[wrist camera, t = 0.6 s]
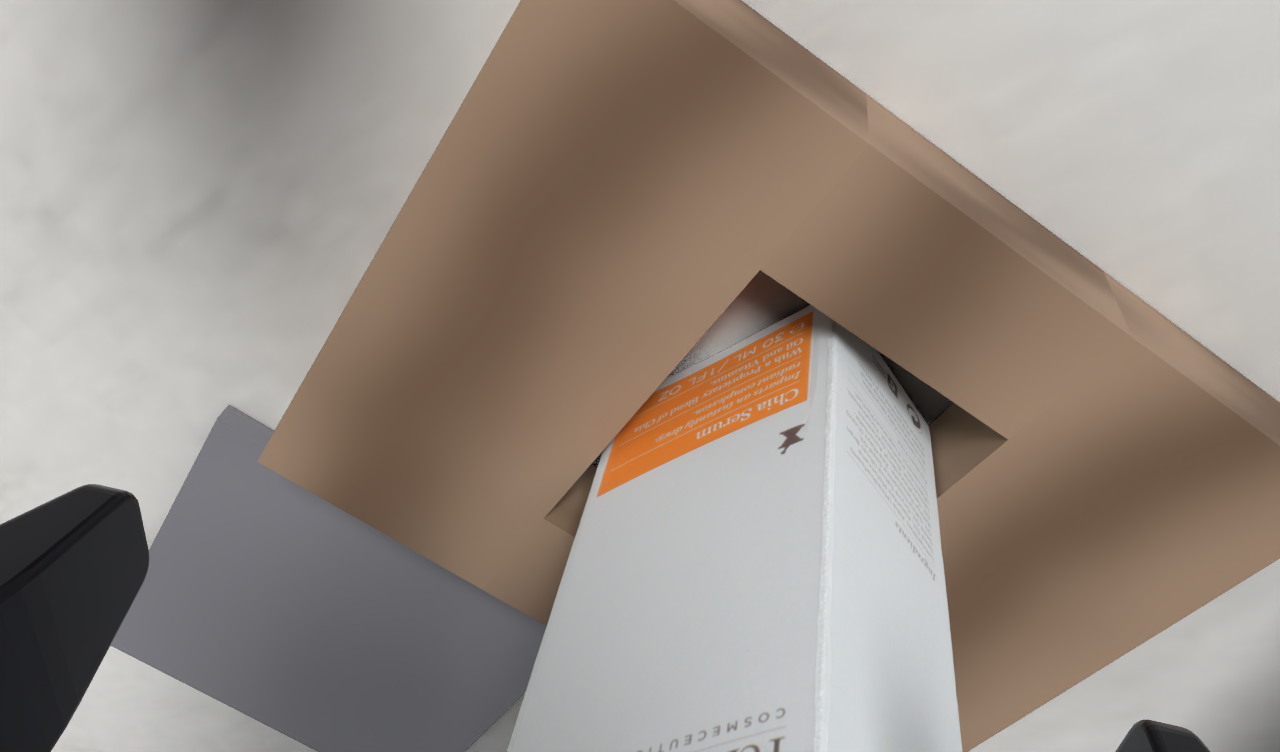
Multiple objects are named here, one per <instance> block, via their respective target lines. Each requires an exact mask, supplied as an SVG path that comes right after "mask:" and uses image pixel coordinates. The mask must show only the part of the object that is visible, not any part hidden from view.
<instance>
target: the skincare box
mask: <svg viewBox="0 0 1280 752" xmlns="http://www.w3.org/2000/svg"><path fill="white" fill-rule="evenodd" d="M506 752H963V751H962V742H961V733H960V723H959V712H958V703H957V696H956V684H955V673H954V664H953V651H952V642H951V632H950V621H949V611H948V602H947V593H946V583H945V574H944V565H943V557H942V549H941V537H940V526H939V515H938V505H937V496H936V486H935V475H934V465H933V456H932V447H931V436H930V430H929V426H928V424H927V423H926V421H925V420H924V419H923V417H922V416H921V414H920V413H919V411H918V410H917V408H916V407H915V405H914V404H913V402H912V401H911V400H910V398H909V397H908V395H907V394H906V392H905V391H904V389H903V388H902V386H901V385H900V383H899V382H898V380H897V379H896V377H895V376H894V374H893V373H892V372H891V370H890V369H889V367H888V366H887V364H886V363H885V362H884V360H883V359H882V357H881V356H880V354H879V353H878V351H877V350H876V349H875V348H873V347H872V346H870V345H869V344H867V343H866V342H865V341H863V340H862V339H860V338H859V337H857V336H856V335H854V334H853V333H851V332H850V331H848V330H847V329H846V328H844V327H843V326H841V325H840V324H838V323H837V322H835V321H834V320H832V319H831V318H829V317H828V316H827V315H825V314H824V313H822V312H821V311H819V310H818V309H816V308H815V307H813V306H812V305H809V306H807V307H806V308H804V309H802V310H801V311H799V312H797V313H795V314H793V315H791V316H789V317H787V318H785V319H782V320H780V321H778V322H776V323H774V324H772V325H770V326H768V327H767V328H765V329H763V330H761V331H759V332H757V333H755V334H753V335H752V336H750V337H748V338H746V339H744V340H742V341H740V342H738V343H736V344H735V345H733V346H731V347H729V348H727V349H725V350H723V351H721V352H719V353H717V354H715V355H713V356H711V357H709V358H707V359H705V360H703V361H701V362H699V363H697V364H694V365H692V366H690V367H688V368H686V369H684V370H682V371H680V372H678V373H676V374H674V375H672V376H669V377H667V378H666V379H665V380H664V381H663V382H662V383H661V384H660V386H659V387H658V388H657V389H656V390H655V391H654V392H653V394H652V395H651V396H650V397H649V398H648V399H647V401H646V402H645V403H644V404H643V405H642V406H641V407H640V409H639V410H638V411H637V412H636V413H635V414H634V415H633V417H632V418H631V419H630V420H629V421H628V422H627V424H626V425H625V426H624V427H623V428H622V429H621V430H620V432H619V433H618V434H617V435H616V436H615V437H614V438H613V440H612V441H611V442H610V443H609V444H608V445H607V447H606V448H605V449H604V450H603V452H602V455H601V458H600V461H599V464H598V467H597V470H596V474H595V477H594V479H593V483H592V486H591V489H590V492H589V495H588V499H587V502H586V505H585V508H584V511H583V514H582V517H581V520H580V524H579V527H578V530H577V533H576V536H575V539H574V542H573V545H572V548H571V551H570V554H569V557H568V561H567V564H566V567H565V570H564V573H563V576H562V579H561V582H560V585H559V588H558V592H557V595H556V598H555V601H554V605H553V608H552V611H551V614H550V617H549V621H548V624H547V627H546V630H545V633H544V636H543V639H542V642H541V646H540V649H539V652H538V655H537V657H536V660H535V663H534V667H533V670H532V673H531V676H530V680H529V683H528V686H527V689H526V692H525V695H524V698H523V701H522V704H521V707H520V711H519V714H518V717H517V720H516V723H515V726H514V730H513V733H512V736H511V739H510V742H509V745H508V748H507V751H506Z"/></svg>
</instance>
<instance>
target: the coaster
mask: <svg viewBox="0 0 1280 752" xmlns="http://www.w3.org/2000/svg"><path fill="white" fill-rule="evenodd" d="M273 433H274V431H273V430H271V429H270V428H268V427H266V426H265V425H263V424H261V423H259V422H258V421H256V420H254V419H252V418H251V417H249V416H247V415H245V414H244V413H242V412H240V411H239V410H237V409H235V408H233V407H232V406H230V405H228V406H227V408H226V409H225V410H224V411H223V413H222V414H221V415H220V416H219V417H218V419H217V420H216V422H215V424H214V426H213V428H212V430H211V432H210V434H209V436H208V438H207V440H206V441H205V443H204V445H203V447H202V449H201V451H200V453H199V455H198V457H197V459H196V461H195V463H194V465H193V467H192V468H191V470H190V472H189V474H188V476H187V478H186V480H185V482H184V484H183V486H182V488H181V490H180V492H179V494H178V496H177V497H176V499H175V501H174V503H173V505H172V507H171V509H170V511H169V513H168V515H167V517H166V519H165V521H164V523H163V525H162V526H161V528H160V530H159V532H158V534H157V536H156V538H155V540H154V542H153V544H152V546H151V548H150V550H149V567H148V571H147V574H146V577H145V580H144V582H143V584H142V586H141V588H140V590H139V592H138V594H137V596H136V597H135V599H134V601H133V603H132V605H131V607H130V609H129V611H128V613H127V615H126V616H125V618H124V620H123V622H122V624H121V626H120V628H119V630H118V632H117V633H116V635H115V637H114V639H113V641H112V643H111V646H113V647H115V648H117V649H119V650H120V651H122V652H124V653H126V654H128V655H130V656H132V657H134V658H136V659H138V660H140V661H142V662H144V663H146V664H148V665H150V666H152V667H154V668H156V669H158V670H160V671H162V672H164V673H165V674H167V675H169V676H171V677H173V678H175V679H177V680H179V681H181V682H183V683H185V684H187V685H189V686H191V687H193V688H195V689H197V690H199V691H201V692H203V693H205V694H207V695H209V696H210V697H212V698H214V699H216V700H218V701H220V702H222V703H224V704H226V705H228V706H230V707H232V708H234V709H236V710H238V711H240V712H242V713H244V714H246V715H248V716H250V717H252V718H254V719H255V720H257V721H259V722H261V723H263V724H265V725H267V726H269V727H271V728H273V729H275V730H277V731H279V732H281V733H283V734H285V735H287V736H289V737H291V738H293V739H295V740H297V741H299V742H300V743H302V744H304V745H306V746H308V747H310V748H312V749H314V750H316V751H318V752H465V751H466V750H467V749H468V748H469V747H470V746H471V745H472V744H473V743H474V742H475V741H476V740H477V739H478V738H479V737H480V736H481V735H482V734H483V733H484V732H485V731H486V730H487V729H488V728H489V727H490V726H491V725H492V724H493V723H494V722H495V721H496V720H497V719H498V718H499V717H500V716H501V715H502V714H503V713H504V712H505V711H506V710H507V709H508V708H509V707H510V706H511V705H512V704H513V703H514V702H516V701H517V700H518V699H519V698H520V697H521V696H522V695H523V694H524V693H525V692H526V689H527V686H528V683H529V680H530V676H531V673H532V670H533V667H534V663H535V660H536V657H537V655H538V652H539V649H540V646H541V642H542V639H543V636H544V633H545V630H546V627H547V626H546V625H544V624H542V623H540V622H539V621H537V620H535V619H533V618H531V617H530V616H528V615H526V614H524V613H523V612H521V611H519V610H517V609H516V608H514V607H512V606H510V605H509V604H507V603H505V602H503V601H502V600H500V599H498V598H496V597H494V596H493V595H491V594H489V593H487V592H486V591H484V590H482V589H480V588H479V587H477V586H475V585H473V584H472V583H470V582H468V581H466V580H465V579H463V578H461V577H459V576H457V575H456V574H454V573H452V572H450V571H449V570H447V569H445V568H443V567H442V566H440V565H438V564H436V563H435V562H433V561H431V560H429V559H428V558H426V557H424V556H422V555H420V554H419V553H417V552H415V551H413V550H412V549H410V548H408V547H406V546H405V545H403V544H401V543H399V542H398V541H396V540H394V539H392V538H391V537H389V536H387V535H385V534H383V533H382V532H380V531H378V530H376V529H375V528H373V527H371V526H369V525H368V524H366V523H364V522H362V521H361V520H359V519H357V518H355V517H354V516H352V515H350V514H348V513H346V512H345V511H343V510H341V509H339V508H338V507H336V506H334V505H332V504H331V503H329V502H327V501H325V500H324V499H322V498H320V497H318V496H317V495H315V494H313V493H311V492H309V491H308V490H306V489H304V488H302V487H301V486H299V485H297V484H295V483H294V482H292V481H290V480H288V479H287V478H285V477H283V476H281V475H280V474H278V473H276V472H274V471H272V470H271V469H269V468H267V467H265V466H264V465H262V464H260V463H258V462H257V461H258V459H259V457H260V456H261V454H262V452H263V450H264V449H265V447H266V445H267V443H268V442H269V440H270V438H271V436H272V435H273Z"/></svg>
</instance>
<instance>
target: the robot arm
mask: <svg viewBox="0 0 1280 752" xmlns="http://www.w3.org/2000/svg"><path fill="white" fill-rule="evenodd" d="M148 567H149V551H148V546H147V541H146V536H145V531H144V527H143V522H142V517H141V512H140V507H139V503H138V500H137V499H136V498H135V497H134V495H133V494H132V493H130V492H128V491H124V490H120V489H115V488H111V487H106V486H102V485H96V484H88V485H84V486H81V487H79V488H76V489H74V490H72V491H70V492H68V493H66V494H64V495H61V496H59V497H57V498H55V499H53V500H51V501H49V502H47V503H45V504H42V505H40V506H38V507H36V508H34V509H32V510H30V511H28V512H26V513H23V514H21V515H19V516H17V517H15V518H13V519H11V520H9V521H7V522H5V523H2V524H0V752H51V750H52V749H53V747H54V746H55V744H56V742H57V741H58V739H59V738H60V736H61V735H62V733H63V731H64V730H65V728H66V727H67V725H68V723H69V721H70V720H71V718H72V716H73V714H74V712H75V711H76V709H77V707H78V705H79V704H80V702H81V700H82V698H83V696H84V694H85V692H86V690H87V688H88V687H89V685H90V683H91V681H92V679H93V677H94V675H95V673H96V671H97V669H98V668H99V666H100V664H101V662H102V660H103V658H104V656H105V654H106V652H107V651H108V649H109V647H110V645H111V643H112V641H113V639H114V637H115V635H116V633H117V632H118V630H119V628H120V626H121V624H122V622H123V620H124V618H125V616H126V615H127V613H128V611H129V609H130V607H131V605H132V603H133V601H134V599H135V597H136V596H137V594H138V592H139V590H140V588H141V586H142V584H143V582H144V580H145V577H146V574H147V571H148ZM1116 752H1210V751H1209V750H1208V748H1207V747H1206V746H1205V745H1204V743H1203V742H1202V741H1201V740H1200V739H1199V738H1198V737H1197V736H1196V735H1195V734H1194V733H1193V732H1191V731H1190V730H1188V729H1185V728H1182V727H1178V726H1174V725H1169V724H1165V723H1161V722H1156V721H1152V720H1141V721H1139V722H1137V723H1135V724H1134V725H1133V727H1132V728H1131V729H1130V731H1129V732H1128V734H1127V735H1126V737H1125V738H1124V740H1123V741H1122V743H1121V744H1120V746H1119V747H1118V749H1117V750H1116Z"/></svg>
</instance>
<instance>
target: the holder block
mask: <svg viewBox="0 0 1280 752" xmlns="http://www.w3.org/2000/svg"><path fill="white" fill-rule="evenodd" d="M760 270H761V271H762V272H764V273H765V274H767V275H768V276H770V277H771V278H772V279H774V280H775V281H777V282H778V283H780V284H781V285H783V286H784V287H786V288H787V289H789V290H790V291H791V292H793V293H794V294H796V295H797V296H799V297H800V298H802V299H803V300H805V301H806V302H808V303H809V304H810V305H812V306H813V307H815V308H816V309H818V310H819V311H821V312H822V313H824V314H825V315H827V316H828V317H829V318H831V319H832V320H834V321H835V322H837V323H838V324H840V325H841V326H843V327H844V328H846V329H847V330H848V331H850V332H851V333H853V334H854V335H856V336H857V337H859V338H860V339H862V340H863V341H865V342H866V343H867V344H869V345H870V346H872V347H873V348H875V349H876V350H878V351H879V352H881V353H882V354H884V355H885V356H886V357H888V358H889V359H891V360H892V361H894V362H895V363H897V364H898V365H900V366H901V367H903V368H904V369H905V370H907V371H908V372H910V373H911V374H913V375H914V376H916V377H917V378H919V379H920V380H922V381H923V382H924V383H926V384H927V385H929V386H930V387H932V388H933V389H935V390H936V391H938V392H939V393H940V394H942V395H943V396H945V397H946V398H948V399H949V400H951V401H952V402H954V403H953V404H952V405H951V406H950V407H949V408H948V409H946V410H945V411H944V412H943V413H942V414H941V415H940V416H939V417H937V418H936V419H935V420H934V421H933V422H932V423H931V424H929V425H928V426H929V430H930V436H931V447H932V456H933V465H934V475H935V486H936V496H937V505H938V515H939V526H940V537H941V549H942V557H943V565H944V574H945V583H946V593H947V602H948V611H949V621H950V632H951V642H952V651H953V664H954V673H955V684H956V696H957V703H958V712H959V723H960V733H961V742H962V751H963V752H968V751H969V750H971V749H973V748H974V747H976V746H977V745H979V744H981V743H982V742H984V741H986V740H987V739H989V738H990V737H992V736H994V735H995V734H997V733H998V732H1000V731H1002V730H1003V729H1005V728H1007V727H1008V726H1010V725H1011V724H1013V723H1015V722H1016V721H1018V720H1019V719H1021V718H1023V717H1024V716H1026V715H1028V714H1029V713H1031V712H1032V711H1034V710H1036V709H1037V708H1039V707H1040V706H1042V705H1044V704H1045V703H1047V702H1049V701H1050V700H1052V699H1053V698H1055V697H1057V696H1058V695H1060V694H1061V693H1063V692H1065V691H1066V690H1068V689H1070V688H1071V687H1073V686H1074V685H1076V684H1078V683H1079V682H1081V681H1082V680H1084V679H1086V678H1087V677H1089V676H1091V675H1092V674H1094V673H1095V672H1097V671H1099V670H1100V669H1102V668H1104V667H1105V666H1107V665H1108V664H1110V663H1112V662H1113V661H1115V660H1116V659H1118V658H1120V657H1121V656H1123V655H1125V654H1126V653H1128V652H1129V651H1131V650H1133V649H1134V648H1136V647H1137V646H1139V645H1141V644H1142V643H1144V642H1146V641H1147V640H1149V639H1150V638H1152V637H1154V636H1155V635H1157V634H1158V633H1160V632H1162V631H1163V630H1165V629H1167V628H1168V627H1170V626H1171V625H1173V624H1175V623H1176V622H1178V621H1179V620H1181V619H1183V618H1184V617H1186V616H1188V615H1189V614H1191V613H1192V612H1194V611H1196V610H1197V609H1199V608H1200V607H1202V606H1204V605H1205V604H1207V603H1209V602H1210V601H1212V600H1213V599H1215V598H1217V597H1218V596H1220V595H1221V594H1223V593H1225V592H1226V591H1228V590H1230V589H1231V588H1233V587H1234V586H1236V585H1238V584H1239V583H1241V582H1242V581H1244V580H1246V579H1247V578H1249V577H1251V576H1252V575H1254V574H1255V573H1257V572H1259V571H1260V570H1262V569H1263V568H1265V567H1267V566H1268V565H1270V564H1272V563H1273V562H1275V561H1276V560H1278V559H1280V403H1279V402H1278V401H1277V400H1275V399H1274V398H1273V397H1271V396H1270V395H1269V394H1267V393H1266V392H1265V391H1263V390H1262V389H1261V388H1259V387H1258V386H1257V385H1255V384H1254V383H1253V382H1251V381H1250V380H1249V379H1247V378H1246V377H1245V376H1243V375H1242V374H1241V373H1239V372H1238V371H1237V370H1235V369H1234V368H1232V367H1231V366H1230V365H1228V364H1227V363H1226V362H1224V361H1223V360H1222V359H1220V358H1219V357H1218V356H1216V355H1215V354H1214V353H1212V352H1211V351H1210V350H1208V349H1207V348H1206V347H1204V346H1203V345H1202V344H1200V343H1199V342H1198V341H1196V340H1195V339H1194V338H1192V337H1191V336H1190V335H1188V334H1187V333H1186V332H1184V331H1183V330H1182V329H1180V328H1179V327H1178V326H1176V325H1175V324H1174V323H1172V322H1171V321H1170V320H1168V319H1167V318H1166V317H1164V316H1163V315H1162V314H1160V313H1159V312H1158V311H1156V310H1155V309H1154V308H1152V307H1151V306H1149V305H1148V304H1147V303H1145V302H1144V301H1143V300H1141V299H1140V298H1139V297H1137V296H1136V295H1135V294H1133V293H1132V292H1131V291H1129V290H1128V289H1127V288H1125V287H1124V286H1123V285H1121V284H1120V283H1119V282H1117V281H1116V280H1115V279H1113V278H1112V277H1111V276H1109V275H1108V274H1107V273H1105V272H1104V271H1103V270H1101V269H1100V268H1099V267H1097V266H1096V265H1095V264H1093V263H1092V262H1091V261H1089V260H1088V259H1087V258H1085V257H1084V256H1083V255H1081V254H1080V253H1079V252H1077V251H1076V250H1075V249H1073V248H1072V247H1071V246H1069V245H1068V244H1066V243H1065V242H1064V241H1062V240H1061V239H1060V238H1058V237H1057V236H1056V235H1054V234H1053V233H1052V232H1050V231H1049V230H1048V229H1046V228H1045V227H1044V226H1042V225H1041V224H1040V223H1038V222H1037V221H1036V220H1034V219H1033V218H1032V217H1030V216H1029V215H1028V214H1026V213H1025V212H1024V211H1022V210H1021V209H1020V208H1018V207H1017V206H1016V205H1014V204H1013V203H1012V202H1010V201H1009V200H1008V199H1006V198H1005V197H1004V196H1002V195H1001V194H1000V193H998V192H997V191H996V190H994V189H993V188H992V187H990V186H989V185H988V184H986V183H985V182H983V181H982V180H981V179H979V178H978V177H977V176H975V175H974V174H973V173H971V172H970V171H969V170H967V169H966V168H965V167H963V166H962V165H961V164H959V163H958V162H957V161H955V160H954V159H953V158H951V157H950V156H949V155H947V154H946V153H945V152H943V151H942V150H941V149H939V148H938V147H937V146H935V145H934V144H933V143H931V142H930V141H929V140H927V139H926V138H925V137H923V136H922V135H921V134H919V133H918V132H917V131H915V130H914V129H913V128H911V127H910V126H909V125H907V124H906V123H905V122H903V121H902V120H900V119H899V118H898V117H896V116H895V115H894V114H892V113H891V112H890V111H888V110H887V109H886V108H884V107H883V106H882V105H880V104H879V103H878V102H876V101H875V100H874V99H872V98H871V97H870V96H868V95H867V94H866V93H864V92H863V91H862V90H860V89H859V88H858V87H856V86H855V85H854V84H852V83H851V82H850V81H848V80H847V79H846V78H844V77H843V76H842V75H840V74H839V73H838V72H836V71H835V70H834V69H832V68H831V67H830V66H828V65H827V64H826V63H824V62H823V61H822V60H820V59H819V58H817V57H816V56H815V55H813V54H812V53H811V52H809V51H808V50H807V49H805V48H804V47H803V46H801V45H800V44H799V43H797V42H796V41H795V40H793V39H792V38H791V37H789V36H788V35H787V34H785V33H784V32H783V31H781V30H780V29H779V28H777V27H776V26H775V25H773V24H772V23H771V22H769V21H768V20H767V19H765V18H764V17H763V16H761V15H760V14H759V13H757V12H756V11H755V10H753V9H752V8H751V7H749V6H748V5H747V4H745V3H744V2H743V1H741V0H521V1H520V3H519V5H518V7H517V8H516V10H515V12H514V14H513V15H512V17H511V19H510V21H509V22H508V24H507V26H506V28H505V29H504V31H503V33H502V35H501V36H500V38H499V40H498V42H497V43H496V45H495V47H494V49H493V50H492V52H491V54H490V56H489V57H488V59H487V61H486V62H485V64H484V66H483V68H482V69H481V71H480V73H479V75H478V76H477V78H476V80H475V82H474V83H473V85H472V87H471V89H470V90H469V92H468V94H467V96H466V97H465V99H464V101H463V103H462V104H461V106H460V108H459V110H458V111H457V113H456V115H455V117H454V118H453V120H452V122H451V124H450V125H449V127H448V129H447V131H446V132H445V134H444V136H443V138H442V139H441V141H440V143H439V145H438V146H437V148H436V150H435V152H434V153H433V155H432V157H431V159H430V160H429V162H428V164H427V166H426V167H425V169H424V171H423V173H422V174H421V176H420V178H419V180H418V181H417V183H416V185H415V187H414V188H413V190H412V192H411V193H410V195H409V197H408V199H407V200H406V202H405V204H404V206H403V207H402V209H401V211H400V213H399V214H398V216H397V218H396V220H395V221H394V223H393V225H392V227H391V228H390V230H389V232H388V234H387V235H386V237H385V239H384V241H383V242H382V244H381V246H380V248H379V249H378V251H377V253H376V255H375V256H374V258H373V260H372V262H371V263H370V265H369V267H368V269H367V270H366V272H365V274H364V276H363V277H362V279H361V281H360V283H359V284H358V286H357V288H356V290H355V291H354V293H353V295H352V297H351V298H350V300H349V302H348V304H347V305H346V307H345V309H344V311H343V312H342V314H341V316H340V318H339V319H338V321H337V323H336V325H335V326H334V328H333V330H332V331H331V333H330V335H329V337H328V338H327V340H326V342H325V344H324V345H323V347H322V349H321V351H320V352H319V354H318V356H317V358H316V359H315V361H314V363H313V365H312V366H311V368H310V370H309V372H308V373H307V375H306V377H305V379H304V380H303V382H302V384H301V386H300V387H299V389H298V391H297V393H296V394H295V396H294V398H293V400H292V401H291V403H290V405H289V407H288V408H287V410H286V412H285V414H284V415H283V417H282V419H281V421H280V422H279V424H278V426H277V428H276V429H275V431H274V433H273V435H272V436H271V438H270V440H269V442H268V443H267V445H266V447H265V449H264V450H263V452H262V454H261V456H260V457H259V459H258V461H257V462H258V463H260V464H262V465H264V466H265V467H267V468H269V469H271V470H272V471H274V472H276V473H278V474H280V475H281V476H283V477H285V478H287V479H288V480H290V481H292V482H294V483H295V484H297V485H299V486H301V487H302V488H304V489H306V490H308V491H309V492H311V493H313V494H315V495H317V496H318V497H320V498H322V499H324V500H325V501H327V502H329V503H331V504H332V505H334V506H336V507H338V508H339V509H341V510H343V511H345V512H346V513H348V514H350V515H352V516H354V517H355V518H357V519H359V520H361V521H362V522H364V523H366V524H368V525H369V526H371V527H373V528H375V529H376V530H378V531H380V532H382V533H383V534H385V535H387V536H389V537H391V538H392V539H394V540H396V541H398V542H399V543H401V544H403V545H405V546H406V547H408V548H410V549H412V550H413V551H415V552H417V553H419V554H420V555H422V556H424V557H426V558H428V559H429V560H431V561H433V562H435V563H436V564H438V565H440V566H442V567H443V568H445V569H447V570H449V571H450V572H452V573H454V574H456V575H457V576H459V577H461V578H463V579H465V580H466V581H468V582H470V583H472V584H473V585H475V586H477V587H479V588H480V589H482V590H484V591H486V592H487V593H489V594H491V595H493V596H494V597H496V598H498V599H500V600H502V601H503V602H505V603H507V604H509V605H510V606H512V607H514V608H516V609H517V610H519V611H521V612H523V613H524V614H526V615H528V616H530V617H531V618H533V619H535V620H537V621H539V622H540V623H542V624H544V625H546V626H547V624H548V621H549V617H550V614H551V611H552V608H553V605H554V601H555V598H556V595H557V592H558V588H559V585H560V582H561V579H562V576H563V573H564V570H565V567H566V564H567V561H568V557H569V554H570V551H571V548H572V545H573V542H574V539H575V536H576V533H577V530H578V527H579V524H580V520H581V517H582V514H583V511H584V508H585V505H586V502H587V499H588V495H589V492H590V489H591V486H592V483H593V479H594V477H595V474H596V470H597V468H596V467H595V466H593V465H591V464H592V463H593V461H594V460H595V459H596V458H597V457H598V456H599V455H600V453H601V452H602V451H603V450H604V449H605V448H606V447H607V445H608V444H609V443H610V442H611V441H612V440H613V438H614V437H615V436H616V435H617V434H618V433H619V432H620V430H621V429H622V428H623V427H624V426H625V425H626V424H627V422H628V421H629V420H630V419H631V418H632V417H633V415H634V414H635V413H636V412H637V411H638V410H639V409H640V407H641V406H642V405H643V404H644V403H645V402H646V401H647V399H648V398H649V397H650V396H651V395H652V394H653V392H654V391H655V390H656V389H657V388H658V387H659V386H660V384H661V383H662V382H663V381H664V380H665V379H666V378H667V376H668V375H669V374H670V373H671V372H672V371H673V370H674V368H675V367H676V366H677V365H678V364H679V363H680V361H681V360H682V359H683V358H684V357H685V356H686V355H687V353H688V352H689V351H690V350H691V349H692V348H693V347H694V345H695V344H696V343H697V342H698V341H699V340H700V338H701V337H702V336H703V335H704V334H705V333H706V332H707V330H708V329H709V328H710V327H711V326H712V325H713V324H714V322H715V321H716V320H717V319H718V318H719V317H720V315H721V314H722V313H723V312H724V311H725V310H726V309H727V307H728V306H729V305H730V304H731V303H732V302H733V301H734V299H735V298H736V297H737V296H738V295H739V294H740V292H741V291H742V290H743V289H744V288H745V287H746V286H747V284H748V283H749V282H750V281H751V280H752V279H753V278H754V276H755V275H756V274H757V273H758V272H759V271H760Z"/></svg>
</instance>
